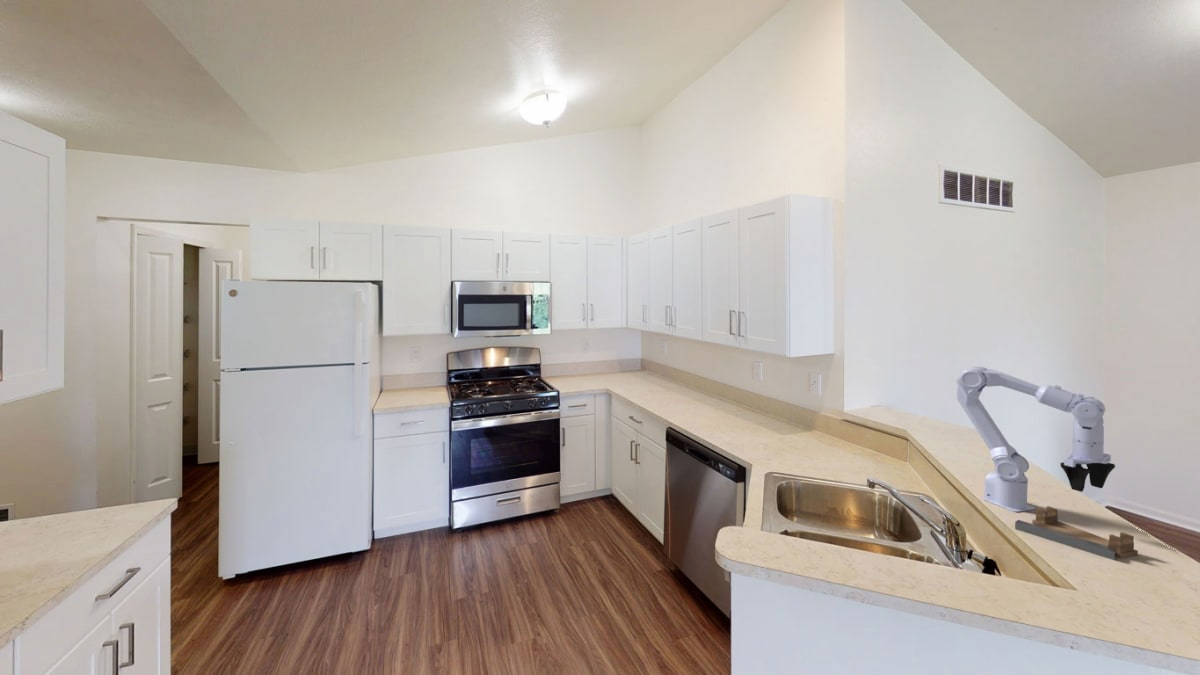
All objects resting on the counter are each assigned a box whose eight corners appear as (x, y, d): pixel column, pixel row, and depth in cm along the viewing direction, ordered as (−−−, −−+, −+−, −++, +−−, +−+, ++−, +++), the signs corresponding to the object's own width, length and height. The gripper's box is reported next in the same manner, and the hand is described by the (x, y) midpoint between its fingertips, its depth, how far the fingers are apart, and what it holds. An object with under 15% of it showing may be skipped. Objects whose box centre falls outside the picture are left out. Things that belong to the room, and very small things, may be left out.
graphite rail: (1014, 530, 120) (1015, 522, 120) (1018, 527, 121) (1018, 519, 121) (1114, 561, 104) (1114, 552, 104) (1116, 558, 105) (1116, 549, 105)
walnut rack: (1032, 523, 122) (1032, 507, 122) (1047, 520, 124) (1048, 505, 123) (1120, 558, 105) (1121, 540, 104) (1137, 554, 106) (1138, 536, 106)
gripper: (1088, 447, 114) (1087, 497, 115) (1126, 442, 117) (1125, 490, 118) (1055, 440, 121) (1054, 487, 122) (1092, 435, 124) (1091, 481, 125)
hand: (1087, 488), depth 120 cm, fingers open, 7 cm apart
